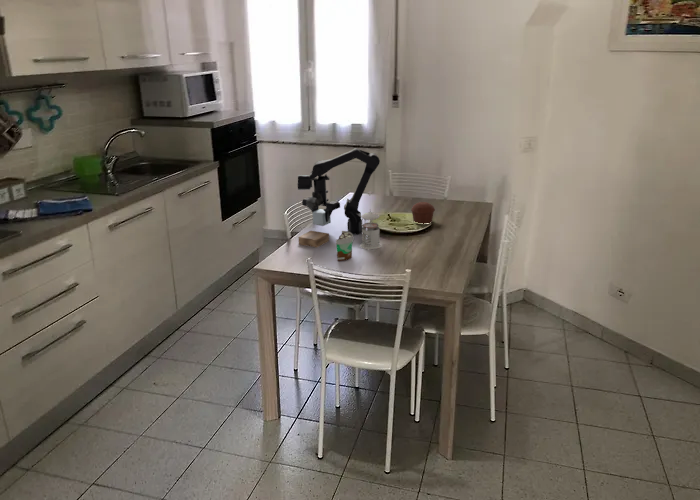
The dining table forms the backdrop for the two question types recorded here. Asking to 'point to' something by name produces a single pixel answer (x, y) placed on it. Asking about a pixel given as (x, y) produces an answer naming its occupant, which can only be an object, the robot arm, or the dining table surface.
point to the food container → (344, 246)
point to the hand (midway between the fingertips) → (321, 220)
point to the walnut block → (313, 239)
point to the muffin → (422, 212)
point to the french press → (370, 231)
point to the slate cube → (320, 218)
